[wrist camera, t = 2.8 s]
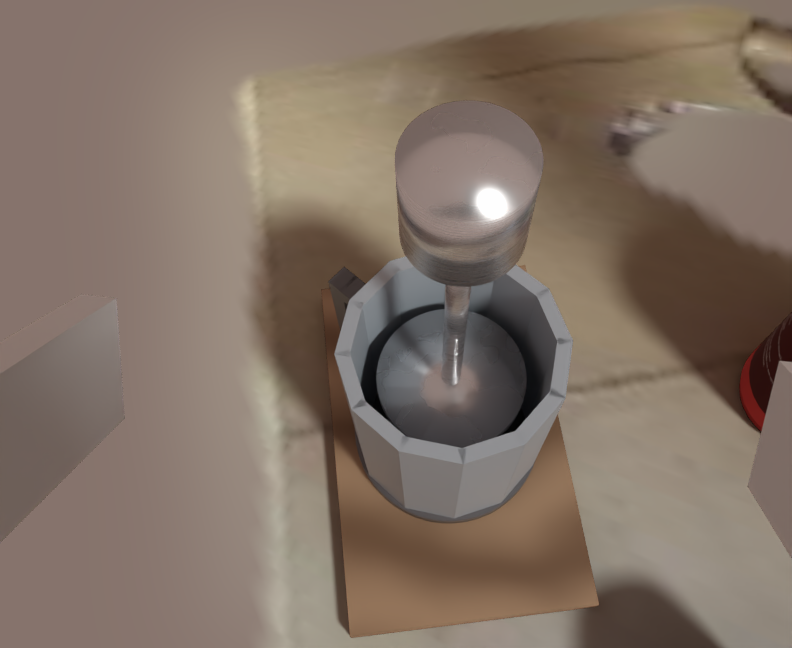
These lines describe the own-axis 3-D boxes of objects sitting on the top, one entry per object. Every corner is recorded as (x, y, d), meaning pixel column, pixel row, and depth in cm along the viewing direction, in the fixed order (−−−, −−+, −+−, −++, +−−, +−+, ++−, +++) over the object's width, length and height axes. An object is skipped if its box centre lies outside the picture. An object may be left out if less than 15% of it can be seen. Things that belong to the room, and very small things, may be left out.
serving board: (323, 297, 53) (321, 289, 51) (523, 273, 53) (525, 265, 52) (351, 637, 43) (349, 636, 42) (594, 606, 43) (599, 605, 42)
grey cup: (410, 295, 51) (406, 179, 39) (574, 424, 47) (624, 337, 35) (292, 414, 48) (248, 325, 36) (456, 564, 43) (468, 520, 32)
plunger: (443, 289, 41) (454, 25, 25) (554, 375, 39) (650, 147, 22) (346, 387, 39) (288, 168, 23) (459, 484, 37) (486, 320, 20)
